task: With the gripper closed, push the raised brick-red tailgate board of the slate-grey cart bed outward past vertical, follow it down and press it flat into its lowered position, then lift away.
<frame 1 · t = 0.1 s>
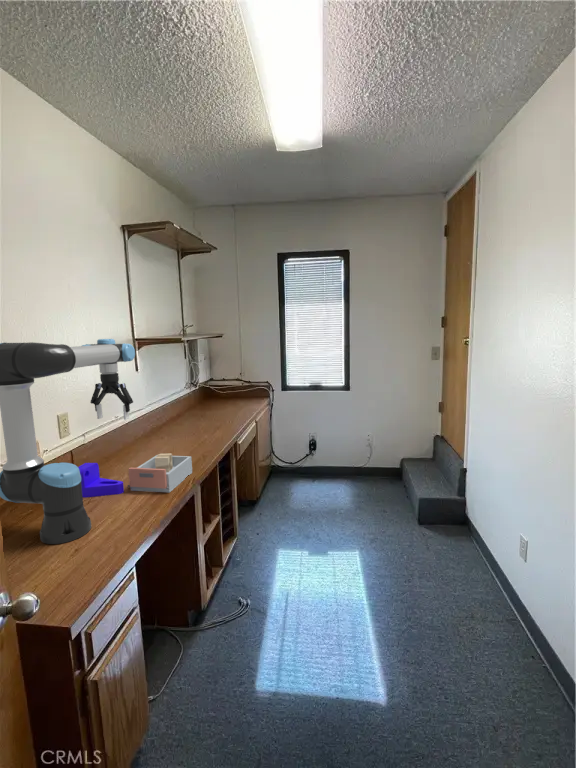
hand: (113, 418, 177), 28 cm above the worktop, fingers open, 13 cm apart
bracket: (103, 492, 164), on the worktop
cart bed: (163, 480, 174), on the worktop
tailgate: (147, 478, 161), point 6 cm above the worktop, hinge at 91.0°
beige block: (164, 470, 180), point 3 cm above the worktop, touching cart bed
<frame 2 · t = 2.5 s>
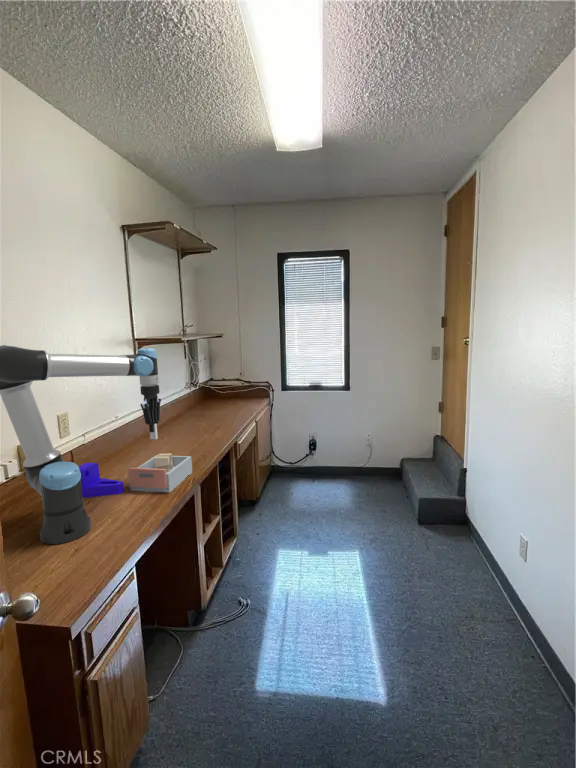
hand: (154, 438, 166), 21 cm above the worktop, fingers closed
nothing on the worktop moved.
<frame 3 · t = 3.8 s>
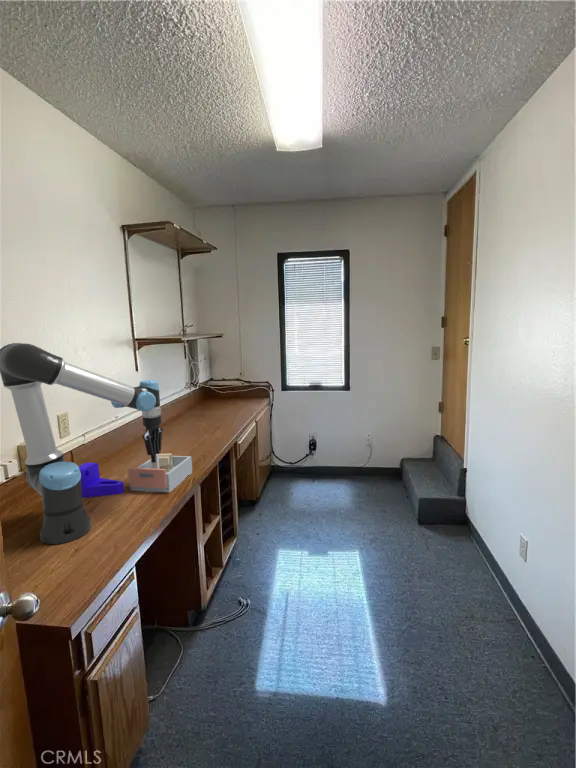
hand: (155, 468, 168), 8 cm above the worktop, fingers closed
nothing on the worktop moved.
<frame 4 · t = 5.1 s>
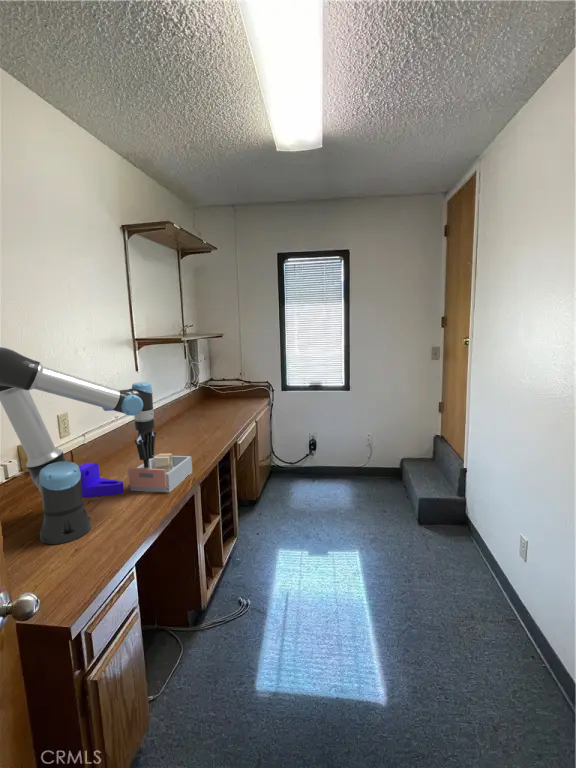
hand: (148, 473, 162), 8 cm above the worktop, fingers closed
tailgate: (147, 478, 161), point 6 cm above the worktop, hinge at 89.8°, touching gripper
everything else where it was.
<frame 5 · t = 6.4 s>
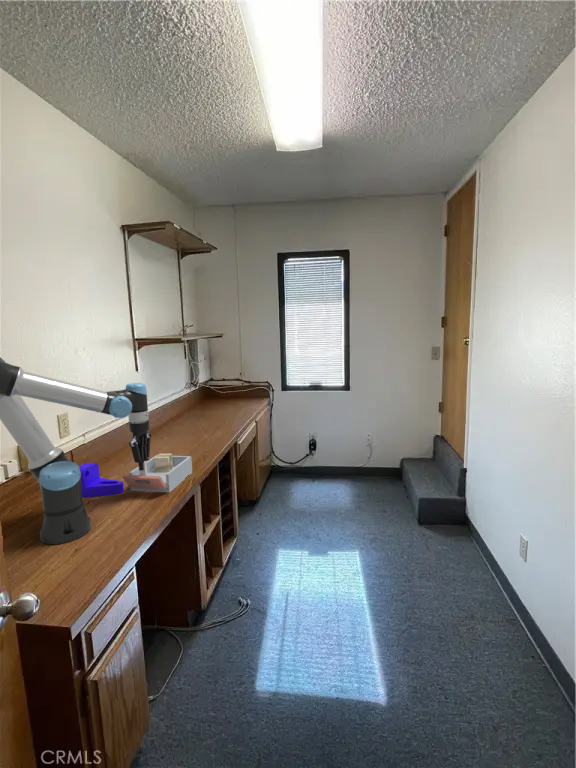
hand: (143, 476, 159), 8 cm above the worktop, fingers closed
tailgate: (144, 482, 159), point 5 cm above the worktop, hinge at 53.5°, touching gripper
everything else where it was.
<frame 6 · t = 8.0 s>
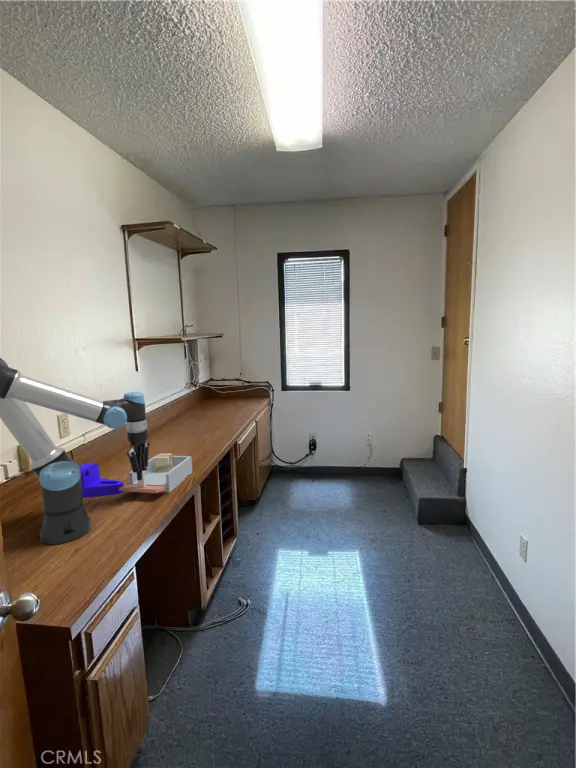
hand: (142, 486, 157), 5 cm above the worktop, fingers closed
tailgate: (143, 489, 158), point 3 cm above the worktop, hinge at 14.4°, touching gripper
everything else where it was.
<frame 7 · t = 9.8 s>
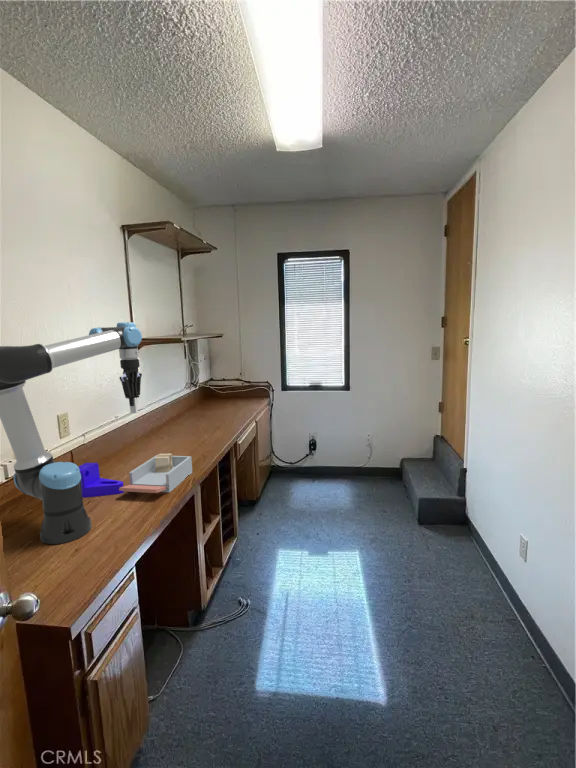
hand: (134, 412, 167), 33 cm above the worktop, fingers closed
tailgate: (143, 489, 158), point 3 cm above the worktop, hinge at 14.4°
everything else where it was.
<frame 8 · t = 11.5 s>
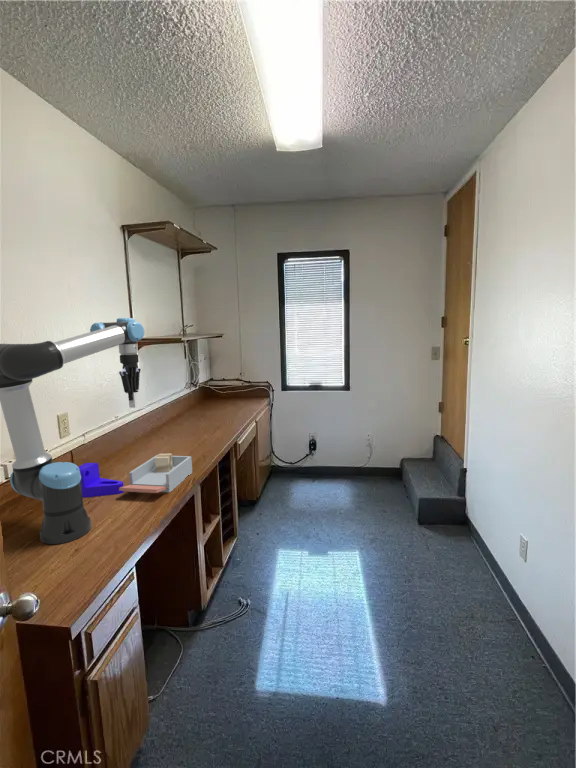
hand: (133, 407, 170), 34 cm above the worktop, fingers closed
nothing on the worktop moved.
at the end: tailgate at +14° (first picture: +91°); beige block moved 0.1 cm from its start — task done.
